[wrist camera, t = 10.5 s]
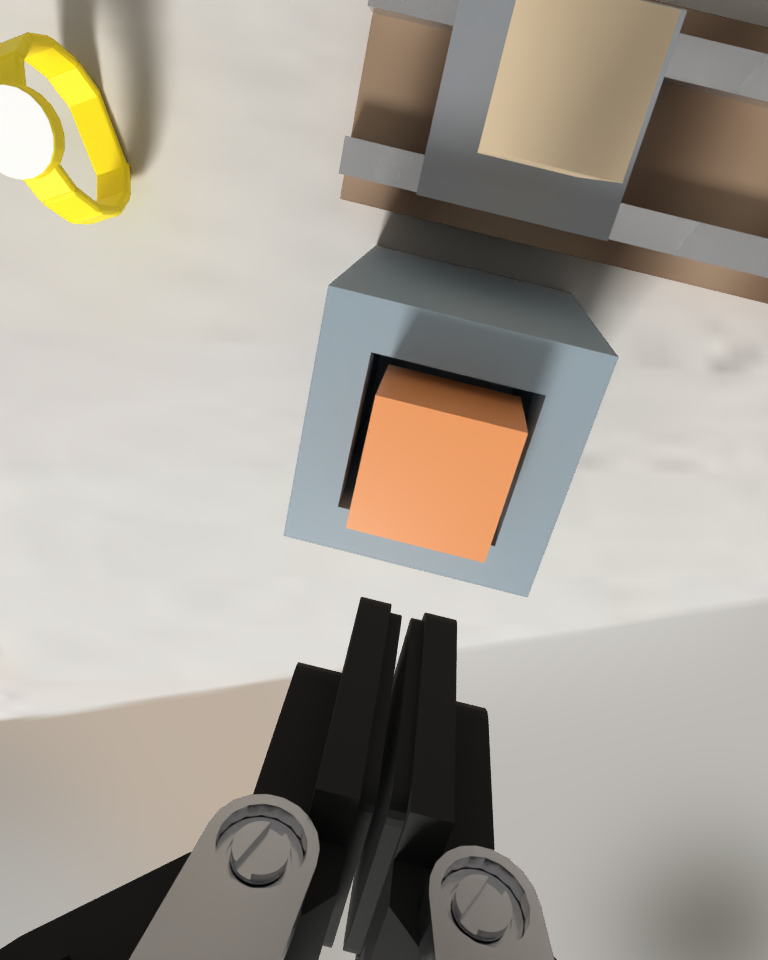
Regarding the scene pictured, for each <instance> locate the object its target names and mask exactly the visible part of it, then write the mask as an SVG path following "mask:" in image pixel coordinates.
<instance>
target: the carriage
mask: <svg viewBox="0 0 768 960" xmlns="http://www.w3.org/2000/svg"><path fill="white" fill-rule="evenodd" d="M686 13H687V10H684V9H680V8H676V7H672V6H668V5H663V4H659V3H655V2H651V1H647V0H459V3H458V7H457V12H456V16H455V21H454V25H453V30H452V35H451V39H450V44H449V48H448V53H447V57H446V62H445V66H444V71H443V75H442V80H441V84H440V89H439V93H438V98H437V102H436V107H435V111H434V116H433V120H432V125H431V129H430V134H429V138H428V143H427V147H426V152H425V156H424V161H423V166H422V170H421V175H420V179H419V184H418V188H417V193H416V195H420V196H424V197H428V198H432V199H436V200H440V201H445V202H449V203H453V204H457V205H461V206H465V207H469V208H473V209H477V210H481V211H485V212H490V213H494V214H498V215H502V216H506V217H510V218H514V219H518V220H522V221H526V222H530V223H534V224H539V225H543V226H547V227H551V228H555V229H559V230H563V231H567V232H571V233H575V234H579V235H584V236H588V237H592V238H596V239H600V240H604V241H608V239H609V236H610V233H611V230H612V227H613V224H614V221H615V218H616V215H617V213H618V210H619V207H620V204H621V201H622V198H623V195H624V192H625V189H626V186H627V184H628V181H629V178H630V175H631V172H632V169H633V166H634V163H635V160H636V157H637V155H638V152H639V149H640V146H641V143H642V140H643V137H644V134H645V131H646V128H647V126H648V123H649V120H650V117H651V114H652V111H653V108H654V105H655V102H656V99H657V97H658V94H659V91H660V88H661V85H662V82H663V79H664V76H665V73H666V70H667V68H668V65H669V62H670V59H671V56H672V53H673V50H674V47H675V44H676V41H677V39H678V36H679V33H680V30H681V27H682V24H683V21H684V18H685V15H686Z"/></svg>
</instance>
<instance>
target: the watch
mask: <svg viewBox="0 0 768 960" xmlns="http://www.w3.org/2000/svg"><path fill="white" fill-rule="evenodd" d="M24 60H25V61H26V62H27V63H29V64H30V65H31V66H33V67H34V68H35V69H36V70H38V71H39V72H40V73H42V74H43V75H44V76H46V77H47V79H48V80H49V82H50V83H51V84H52V85H53V87H54V88H55V89H56V91H57V92H58V93H59V95H60V96H61V97H62V98H63V100H64V101H65V102H66V104H67V105H68V106H69V108H70V110H71V113H72V115H73V118H74V120H75V123H76V125H77V128H78V130H79V133H80V135H81V138H82V140H83V143H84V145H85V148H86V150H87V153H88V155H89V158H90V160H91V163H92V165H93V168H94V170H95V173H96V175H97V201H96V202H95V201H94V200H93V199H91V198H90V197H89V196H88V195H86V194H85V193H84V192H83V191H81V190H80V189H79V188H77V187H76V185H75V184H74V183H73V181H72V180H71V179H70V177H69V176H68V174H67V173H66V172H65V170H64V169H63V168H62V166H61V165H60V162H61V160H62V157H63V153H64V149H65V141H64V132H63V128H62V125H61V121H60V119H59V117H58V115H57V113H56V112H55V110H54V108H53V107H52V105H51V104H50V103H49V102H48V101H47V100H46V99H45V98H44V97H43V96H42V95H41V94H40V93H38V92H36V91H35V90H33V89H31V88H29V87H27V86H26V79H25V68H24ZM129 168H131V167H130V165H129V163H128V164H127V162H126V159H125V156H124V154H123V151H122V149H121V146H120V143H119V141H118V138H117V136H116V133H115V130H114V128H113V125H112V122H111V120H110V117H109V115H108V112H107V109H106V107H105V104H104V101H103V99H102V96H101V94H100V90H99V89H98V88H97V86H96V85H95V83H94V82H93V81H92V79H91V78H90V76H89V75H88V74H87V72H86V71H85V69H84V68H83V67H82V65H81V64H80V62H78V61H77V60H76V58H75V57H74V56H73V55H71V54H70V53H69V52H68V51H67V50H66V49H64V48H63V47H62V46H61V45H60V44H59V43H58V42H56V41H55V40H54V39H53V38H51V37H49V36H47V35H41V34H35V33H29V32H28V33H25V34H23V35H20V36H18V37H15V38H13V39H10V40H8V41H5V42H3V43H0V172H1V173H2V174H4V175H6V176H8V177H11V178H15V179H19V180H24V181H25V183H26V184H27V185H28V186H29V188H30V189H31V190H32V191H33V193H34V194H35V195H36V196H37V198H38V199H39V200H40V201H42V202H43V204H44V205H45V206H47V207H48V208H50V209H51V210H53V211H54V212H55V213H57V214H58V215H60V216H61V217H63V218H64V219H65V220H67V221H68V222H71V223H73V224H93V223H96V222H99V221H102V220H105V219H108V218H112V217H115V216H118V215H119V214H121V213H122V211H123V210H124V208H125V206H126V205H127V203H128V201H129V199H130V195H131V184H130V169H129Z"/></svg>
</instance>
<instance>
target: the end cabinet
mask: <svg viewBox="0 0 768 960" xmlns="http://www.w3.org/2000/svg"><path fill="white" fill-rule="evenodd" d="M617 360H618V356H617V354H616V353H615V352H614V350H613V349H612V348H611V346H610V345H609V344H608V342H607V341H606V340H605V338H604V337H603V336H602V334H601V333H600V332H599V330H598V329H597V328H596V326H595V325H594V324H593V322H592V321H591V320H590V318H589V317H588V316H587V314H586V313H585V312H584V310H583V309H582V308H581V306H580V305H579V304H578V302H577V301H576V300H575V298H574V297H573V296H572V294H571V293H568V292H564V291H559V290H555V289H551V288H547V287H543V286H539V285H535V284H531V283H527V282H523V281H519V280H515V279H511V278H507V277H503V276H498V275H494V274H490V273H486V272H482V271H478V270H474V269H470V268H466V267H462V266H458V265H454V264H450V263H446V262H442V261H437V260H433V259H429V258H425V257H421V256H417V255H413V254H409V253H405V252H401V251H397V250H393V249H389V248H385V247H381V246H375V247H374V248H372V249H371V250H370V251H369V252H368V253H366V254H365V255H364V256H363V257H362V258H360V259H359V260H358V261H357V262H356V263H354V264H353V265H352V266H351V267H350V268H349V269H347V270H346V271H345V272H344V273H343V274H341V275H340V276H339V277H338V278H337V279H335V280H334V281H333V282H332V283H331V284H329V285H328V290H327V296H326V302H325V307H324V313H323V318H322V324H321V330H320V335H319V341H318V346H317V352H316V358H315V363H314V369H313V374H312V380H311V386H310V391H309V397H308V402H307V408H306V414H305V419H304V425H303V430H302V436H301V441H300V447H299V453H298V458H297V464H296V469H295V475H294V481H293V486H292V492H291V497H290V503H289V509H288V514H287V520H286V525H285V531H284V536H287V537H291V538H295V539H299V540H303V541H306V542H310V543H314V544H318V545H322V546H326V547H330V548H334V549H338V550H342V551H346V552H350V553H354V554H358V555H362V556H366V557H370V558H374V559H378V560H382V561H386V562H390V563H394V564H398V565H401V566H405V567H409V568H413V569H417V570H421V571H425V572H429V573H433V574H437V575H441V576H445V577H449V578H453V579H457V580H461V581H465V582H469V583H473V584H477V585H481V586H485V587H489V588H493V589H496V590H500V591H504V592H508V593H512V594H516V595H520V596H524V597H528V595H529V592H530V589H531V587H532V584H533V581H534V579H535V576H536V574H537V571H538V568H539V566H540V563H541V560H542V558H543V555H544V552H545V550H546V547H547V544H548V542H549V539H550V537H551V534H552V531H553V529H554V526H555V523H556V521H557V518H558V515H559V513H560V510H561V507H562V505H563V502H564V500H565V497H566V494H567V492H568V489H569V486H570V484H571V481H572V478H573V476H574V473H575V470H576V468H577V465H578V463H579V460H580V457H581V455H582V452H583V449H584V447H585V444H586V441H587V439H588V436H589V433H590V431H591V428H592V426H593V423H594V420H595V418H596V415H597V412H598V410H599V407H600V404H601V402H602V399H603V396H604V394H605V391H606V389H607V386H608V383H609V381H610V378H611V375H612V373H613V370H614V367H615V365H616V362H617ZM388 364H390V365H394V366H398V367H402V368H406V369H410V370H414V371H418V372H422V373H426V374H430V375H434V376H438V377H442V378H446V379H451V380H455V381H459V382H463V383H467V384H471V385H475V386H479V387H483V388H487V389H491V390H495V391H499V392H503V393H507V394H511V395H515V396H519V397H521V400H522V405H523V410H524V415H525V420H526V425H527V430H528V435H527V438H526V441H525V444H524V447H523V450H522V453H521V456H520V459H519V462H518V465H517V468H516V471H515V474H514V477H513V480H512V483H511V486H510V489H509V492H508V495H507V498H506V501H505V504H504V507H503V510H502V513H501V516H500V519H499V522H498V525H497V528H496V531H495V534H494V537H493V540H492V543H491V546H490V549H489V552H488V554H487V557H486V560H485V563H483V562H479V561H475V560H471V559H467V558H463V557H459V556H455V555H451V554H447V553H443V552H439V551H435V550H431V549H427V548H423V547H419V546H415V545H411V544H407V543H403V542H399V541H395V540H391V539H387V538H383V537H379V536H375V535H371V534H367V533H364V532H360V531H356V530H352V529H348V528H346V525H347V520H348V516H349V511H350V507H351V502H352V498H353V493H354V489H355V484H356V480H357V475H358V471H359V467H360V462H361V458H362V453H363V449H364V444H365V440H366V435H367V431H368V426H369V422H370V417H371V413H372V408H373V404H374V400H375V395H376V393H377V390H378V388H379V386H380V383H381V381H382V379H383V376H384V374H385V371H386V369H387V367H388Z"/></svg>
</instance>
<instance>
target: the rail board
mask: <svg viewBox="0 0 768 960" xmlns="http://www.w3.org/2000/svg"><path fill="white" fill-rule="evenodd" d="M647 1H651V2H655V3H659V4H663V5H668V6H672V7H676V8H680V9H684V10H687V13H686V15H685V18H684V21H683V24H682V27H681V30H680V33H679V36H678V39H677V41H676V44H675V47H674V50H673V53H672V56H671V59H670V62H669V65H668V68H667V70H666V73H665V76H664V79H663V82H662V85H661V88H660V91H659V94H658V97H657V99H656V102H655V105H654V108H653V111H652V114H651V117H650V120H649V123H648V126H647V128H646V131H645V134H644V137H643V140H642V143H641V146H640V149H639V152H638V155H637V157H636V160H635V163H634V166H633V169H632V172H631V175H630V178H629V181H628V184H627V186H626V189H625V192H624V195H623V198H622V201H621V204H620V207H619V210H618V213H617V215H616V218H615V221H614V224H613V227H612V230H611V233H610V236H609V239H608V241H604V240H600V239H596V238H592V237H588V236H584V235H579V234H575V233H571V232H567V231H563V230H559V229H555V228H551V227H547V226H543V225H539V224H534V223H530V222H526V221H522V220H518V219H514V218H510V217H506V216H502V215H498V214H494V213H490V212H485V211H481V210H477V209H473V208H469V207H465V206H461V205H457V204H453V203H449V202H445V201H440V200H436V199H432V198H428V197H424V196H420V195H416V193H417V188H418V184H419V179H420V175H421V170H422V166H423V161H424V156H425V152H426V147H427V143H428V138H429V134H430V129H431V125H432V120H433V116H434V111H435V107H436V102H437V98H438V93H439V89H440V84H441V80H442V75H443V71H444V66H445V62H446V57H447V53H448V48H449V44H450V39H451V35H452V30H453V25H454V21H455V16H456V12H457V7H458V3H459V0H369V2H368V6H369V8H370V9H371V11H372V12H373V15H372V21H371V27H370V32H369V38H368V44H367V49H366V55H365V61H364V66H363V72H362V78H361V83H360V89H359V95H358V100H357V106H356V112H355V117H354V123H353V129H352V134H351V137H349V136H345V141H344V147H343V152H342V158H341V164H340V170H339V173H340V174H344V180H343V185H342V191H341V197H340V199H343V200H347V201H351V202H355V203H359V204H364V205H368V206H372V207H376V208H380V209H384V210H388V211H392V212H396V213H400V214H404V215H408V216H413V217H417V218H421V219H425V220H429V221H433V222H437V223H441V224H445V225H449V226H453V227H457V228H461V229H466V230H470V231H474V232H478V233H482V234H486V235H490V236H494V237H498V238H502V239H506V240H510V241H515V242H519V243H523V244H527V245H531V246H535V247H539V248H543V249H547V250H551V251H555V252H559V253H563V254H568V255H572V256H576V257H580V258H584V259H588V260H592V261H596V262H600V263H604V264H608V265H612V266H617V267H621V268H625V269H629V270H633V271H637V272H641V273H645V274H649V275H653V276H657V277H661V278H665V279H670V280H674V281H678V282H682V283H686V284H690V285H694V286H698V287H702V288H706V289H710V290H714V291H719V292H723V293H727V294H731V295H735V296H739V297H743V298H747V299H751V300H755V301H759V302H763V303H767V304H768V28H767V27H763V26H759V25H755V24H751V23H747V22H742V21H738V20H734V19H730V18H726V17H721V16H717V15H713V14H709V13H705V12H701V11H696V10H692V9H688V8H684V7H680V6H675V5H671V4H667V3H663V2H659V1H655V0H647Z"/></svg>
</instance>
